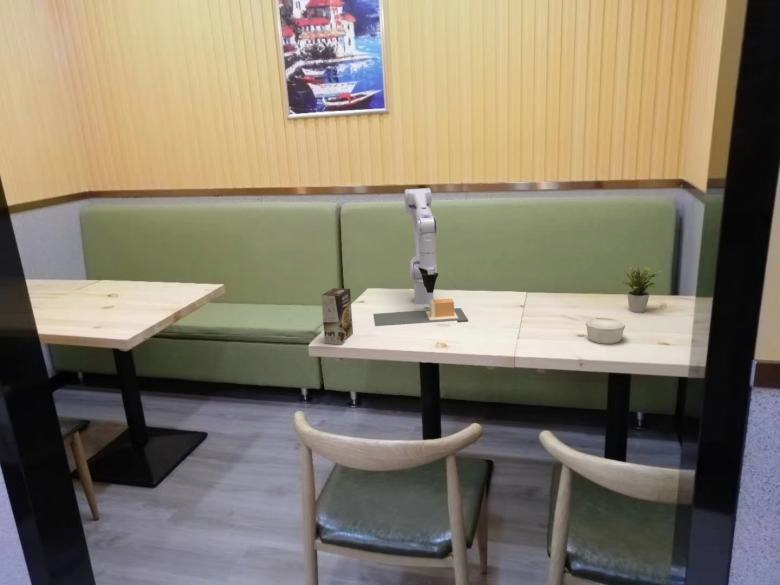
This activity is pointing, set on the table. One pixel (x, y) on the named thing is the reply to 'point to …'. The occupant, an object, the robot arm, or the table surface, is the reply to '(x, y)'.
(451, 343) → the table surface
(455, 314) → the pad
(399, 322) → the mat
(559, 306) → the table surface
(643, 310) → the house plant
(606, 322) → the ramekin
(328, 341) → the coffee box
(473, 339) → the table surface
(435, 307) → the card box
